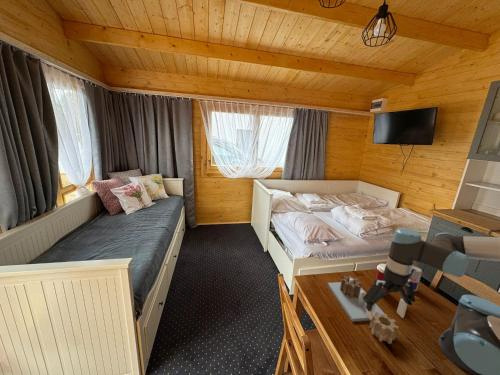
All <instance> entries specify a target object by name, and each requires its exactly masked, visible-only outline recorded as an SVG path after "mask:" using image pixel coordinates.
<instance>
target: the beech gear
mask: <svg viewBox="0 0 500 375" xmlns="http://www.w3.org/2000/svg"><path fill="white" fill-rule="evenodd" d="M396 322H397V321H396V320H395V319H394V318H391V317H389V316H388V313H387V314H386V313H385V312H384V315H383V314H380V313H379V312H376V313H375V315H373V318H372V320H370V322H369V327H368V328H369V329H371V330H370V334H371V335H372V336H375V337H376V338H378V341H379V342H381V343H382V342H386V343H388V345H390V344H392V343H393V341H394V342H395V340H396V338H397V333H398V331H399V330H398V329H399V326H398V325H396Z"/></svg>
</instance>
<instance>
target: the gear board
mask: <svg viewBox="0 0 500 375" xmlns="http://www.w3.org/2000/svg"><path fill="white" fill-rule="evenodd" d="M349 283H351V284H353V283H354V279H352V278H350V279H349ZM340 286H341V282H340V281H338V282H327V287H328V288H329V290H330V291H331V294H333V296H334V297H335V299H336V300H337V301H338V303H339V304H340V306H341V308H342V309H343V310H344V312H345V313H346V315H347V316H348V318H349V319H350V321H351V322H366V321H371V320H370V319H369V317H368V316H367V315H366V310H367V309H366V305H367V303H366V302H365V301H364V299H363V297H364V296H365V295H366V293H367V292H366V291H365V290H364V289H363V287H361V289H360V294H359V297H358V298H357V297H355V296H354V297H353V298H350V296H348V295H347V294H346V295H344V294H343V291H342V290H340ZM376 303H377V302H376ZM376 303H375V310H374V314H373V315H375V313H376V312H379V313H380V314H383V315H384V313H385V312H384V311H383V310H382V309H381V308H380V307H379V306H378V304H376Z"/></svg>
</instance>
